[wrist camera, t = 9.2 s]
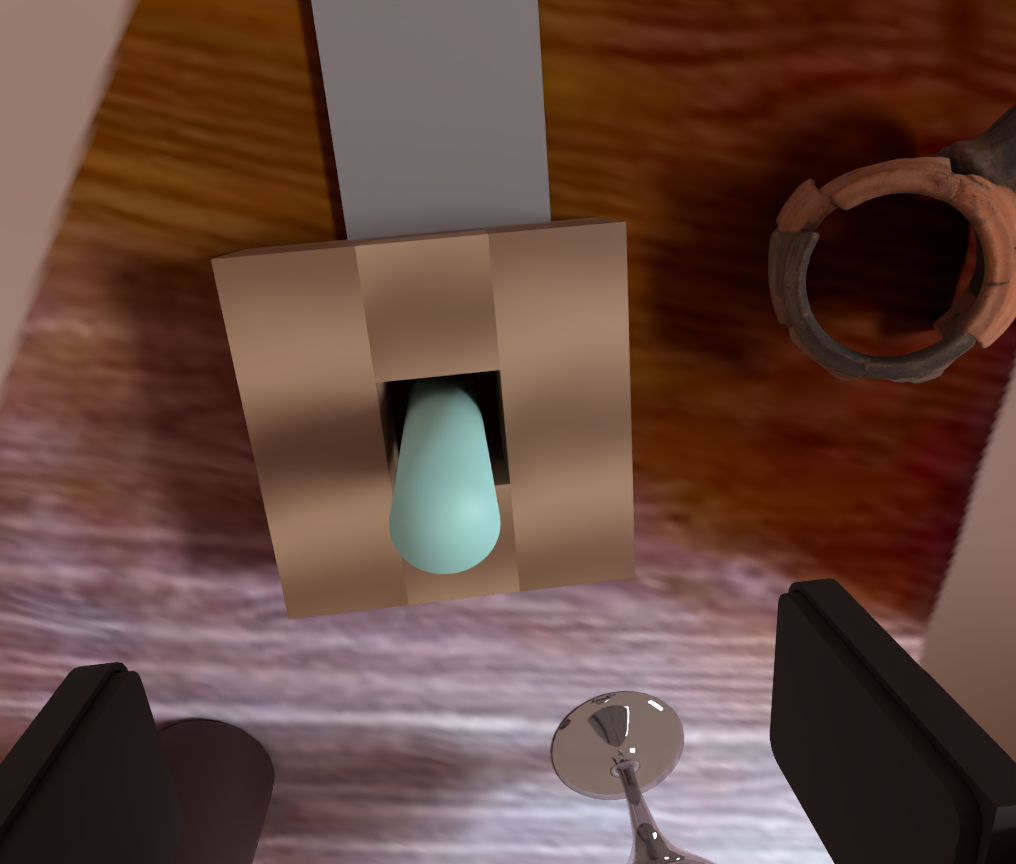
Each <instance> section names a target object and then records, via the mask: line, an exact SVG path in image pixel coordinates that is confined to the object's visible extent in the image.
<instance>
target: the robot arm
mask: <svg viewBox="0 0 1016 864" xmlns="http://www.w3.org/2000/svg"><path fill="white" fill-rule="evenodd" d="M770 742H771V747H772V751H773V754H774V757H775V759H776V762H777V764H778V765H779V767H780V769H781V771H782V772H783V774H784V776H785V778H786V779H787V781H788V783H789V785H790V786H791V788H792V790H793V792H794V793H795V795H796V797H797V799H798V800H799V802H800V804H801V806H802V807H803V809H804V811H805V813H806V814H807V816H808V818H809V820H810V821H811V823H812V825H813V827H814V828H815V830H816V832H817V834H818V835H819V837H820V839H821V841H822V842H823V844H824V846H825V848H826V849H827V851H828V853H829V855H830V856H831V858H832V860H833V862H834V863H835V864H1016V763H1015V762H1014V761H1013V760H1012V759H1011V758H1010V757H1009V755H1008V754H1007V753H1006V752H1005V751H1003V749H1002V748H1001V747H1000V746H999V745H998V744H997V743H996V742H995V741H994V740H993V739H992V738H991V737H990V736H989V735H988V734H987V733H986V732H985V731H984V730H983V729H982V728H981V727H980V726H979V725H978V724H977V723H976V722H975V721H974V720H973V719H972V718H971V717H970V716H969V715H968V714H967V713H966V712H965V710H964V709H963V708H962V707H961V706H960V705H959V704H958V703H957V702H956V701H955V700H954V699H953V698H952V697H951V696H950V695H949V694H948V693H947V692H946V691H945V690H944V689H943V688H942V687H941V686H940V685H939V684H938V683H937V682H936V681H935V680H934V679H933V678H932V677H931V676H930V675H929V674H928V673H927V672H926V671H925V670H924V669H922V668H921V667H920V666H919V665H918V664H917V663H916V662H915V661H914V660H913V659H912V658H911V657H910V655H909V654H908V653H907V652H906V651H905V650H904V649H903V648H902V647H901V646H900V645H899V644H898V643H897V642H896V641H895V640H894V639H893V638H892V637H891V636H890V635H889V634H888V633H887V632H886V631H885V630H884V629H883V628H882V627H881V626H880V625H879V624H878V623H877V622H876V621H875V620H874V619H873V618H872V617H871V616H870V615H869V613H868V612H867V611H866V610H865V609H864V608H863V607H862V606H861V605H860V604H859V603H858V602H857V601H856V600H855V599H854V598H853V597H852V596H851V595H850V594H849V593H848V592H847V591H846V590H845V589H844V588H843V587H842V586H841V585H840V584H839V583H838V582H837V581H835V580H834V579H830V578H828V579H819V580H811V581H802V582H795V583H793V584H791V586H790V588H789V592H788V593H786V594H782V595H781V596H780V598H779V602H778V615H777V630H776V646H775V661H774V677H773V692H772V708H771V723H770ZM183 827H184V815H183V810H182V807H181V803H180V800H179V797H178V794H177V791H176V788H175V785H174V781H173V778H172V775H171V772H170V769H169V766H168V763H167V759H166V756H165V753H164V750H163V747H162V744H161V741H160V737H159V734H158V731H157V728H156V725H155V722H154V719H153V715H152V712H151V709H150V706H149V703H148V700H147V696H146V693H145V690H144V687H143V684H142V681H141V678H140V676H139V674H138V673H137V672H135V671H128V670H127V667H126V666H125V665H124V664H123V663H119V662H115V663H106V664H98V665H89V666H81V667H77V668H74V669H73V670H72V671H71V672H70V673H69V674H68V675H67V677H66V678H65V679H64V681H63V682H62V683H61V685H60V686H59V687H58V689H57V690H56V691H55V693H54V694H53V695H52V697H51V698H50V699H49V701H48V702H47V703H46V705H45V706H44V707H43V709H42V710H41V711H40V712H39V714H38V715H37V716H36V718H35V719H34V720H33V722H32V723H31V724H30V726H29V727H28V728H27V730H26V731H25V732H24V734H23V735H22V736H21V738H20V739H19V740H18V742H17V743H16V744H15V746H14V747H13V748H12V750H11V751H10V752H9V753H8V755H7V756H6V757H5V759H4V760H3V761H2V763H1V764H0V864H172V862H173V859H174V856H175V854H176V851H177V849H178V846H179V844H180V841H181V838H182V834H183Z"/></svg>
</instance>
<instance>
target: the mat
mask: <svg viewBox="0 0 1016 864" xmlns="http://www.w3.org/2000/svg"><path fill="white" fill-rule="evenodd" d="M311 3H312V9H313V16H314V22H315V29H316V36H317V42H318V49H319V55H320V62H321V68H322V75H323V81H324V88H325V95H326V101H327V108H328V114H329V121H330V127H331V134H332V140H333V147H334V153H335V160H336V167H337V173H338V180H339V186H340V193H341V199H342V206H343V212H344V219H345V225H346V232H347V239H348V240H355V239H366V238H377V237H388V236H399V235H410V234H421V233H432V232H443V231H455V230H466V229H477V228H488V227H499V226H510V225H521V224H532V223H543V222H551V216H550V200H549V183H548V166H547V149H546V132H545V116H544V99H543V82H542V65H541V48H540V32H539V15H538V0H311Z"/></svg>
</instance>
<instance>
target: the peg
mask: <svg viewBox="0 0 1016 864" xmlns="http://www.w3.org/2000/svg"><path fill="white" fill-rule="evenodd" d="M499 532H500V514H499V508H498V503H497V497H496V491H495V486H494V480H493V475H492V469H491V463H490V458H489V452H488V447H487V441H486V435H485V430H484V424H483V418H482V413H481V407H480V402H479V396H478V391H477V388H476V386H475V384H474V382H473V381H472V380H471V378H470V377H469V376H468V375H467V374H455V375H446V376H436V377H426V378H417V379H416V380H415V381H414V383H413V385H412V387H411V389H410V393H409V399H408V405H407V411H406V417H405V423H404V430H403V436H402V442H401V448H400V454H399V460H398V467H397V473H396V479H395V485H394V491H393V498H392V504H391V510H390V516H389V533H390V537H391V540H392V543H393V545H394V547H395V548H396V550H397V551H398V553H399V554H400V555H401V556H402V557H403V558H404V559H405V560H406V561H407V562H408V563H410V564H411V565H413V566H414V567H416V568H418V569H421V570H423V571H426V572H429V573H435V574H453V573H458V572H462V571H465V570H467V569H470V568H472V567H473V566H475V565H477V564H478V563H480V562H481V561H482V560H483V559H484V558H485V557H487V556H488V554H489V553H490V552H491V551H492V549H493V547H494V546H495V544H496V542H497V539H498V536H499Z"/></svg>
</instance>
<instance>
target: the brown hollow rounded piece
mask: <svg viewBox="0 0 1016 864" xmlns="http://www.w3.org/2000/svg"><path fill="white" fill-rule="evenodd" d="M896 193H913V194H920V195H926V196H930V197H933V198H935V199H937V200H940V201H944V202H947V203H949V204H950V205H952V206H953V207H955V208H956V209H957V210H958V211H960V212H961V213H962V214H963V215H964V216H965V218H966V219H967V220H968V221H969V222H970V223H971V225H972V227H973V229H974V232H975V237H976V244H977V260H976V267H975V270H974V274H973V277H972V279H971V281H970V284H969V286H968V288H967V289H966V290H965V291H964V293H963V294H962V296H961V297H960V298H959V299H958V300H957V301H956V303H955V304H954V305H953V306H952V307H951V308H950V309H949V310H948V311H947V312H946V313H945V314H943V315H942V316H941V317H940V318H939V319H937V320H936V321H935V322H934V323H933V327H934V329H935V330H936V331H937V332H938V333H939V334H940V335H942V340H941V341H939V342H937V343H935V344H933V345H931V346H930V347H927V348H925V349H922V350H919V351H916V352H913V353H910V354H905V355H899V356H892V357H873V356H870V355H865V354H861V353H858V352H855V351H852V350H850V349H848V348H846V347H844V346H842V345H840V344H839V343H837V342H836V341H835V340H833V339H832V338H831V337H830V336H829V335H828V334H827V333H826V332H824V330H823V329H822V328H821V327H820V325H819V324H818V323H817V321H816V319H815V317H814V315H813V314H812V312H811V309H810V305H809V302H808V298H807V292H806V273H807V267H808V263H809V259H810V256H811V254H812V251H813V249H814V247H815V245H816V243H817V241H818V239H819V234H818V233H816V232H813V231H814V230H815V229H816V228H817V227H818V226H819V225H820V224H821V222H822V221H823V220H824V219H825V217H827V216H828V215H829V214H830V213H831V212H833V211H834V210H836V209H837V208H838V207H840V208H841V209H843V210H848V209H851V208H852V207H854V206H857V205H858V204H860V203H862V202H864V201H867V200H870V199H872V198H876V197H879V196H883V195H888V194H896ZM776 222H777V224H778V227H777V228H776V229H774V231H773V232H772V234H771V237H770V240H769V254H768V276H769V289H770V295H771V300H772V303H773V306H774V310H775V313H776V316H777V319H778V321H779V322H780V324H781V325H787V326H788V329H789V337H790V339H791V341H792V342H793V343H794V344H795V345H796V346H797V347H798V348H799V349H800V350H801V351H802V352H803V353H804V354H806V355H807V356H808V357H809V358H810V359H812V360H813V361H815V362H816V363H818V364H819V365H820V366H821V367H823V368H824V369H825V370H826V371H828V372H829V373H830V374H831V375H832V376H834V377H836V378H838V379H840V380H842V381H846V380H854V379H858V378H861V377H868V378H872V379H887V380H891V381H894V382H908V381H910V382H912V383H921V382H924V381H927V380H930V379H934V378H936V377H938V376H940V375H941V374H942V373H943V371H944V370H945V369H946V368H947V367H948V366H949V365H950V364H951V363H952V362H953V361H954V360H955V359H956V358H958V357H959V356H961V355H962V354H963V353H965V352H966V351H967V350H969V349H970V348H971V347H972V346H973V345H974V344H975V341H977V342H978V345H979V346H980V347H981V348H987V347H988V346H989V345H990V344H992V343H993V342H994V341H995V340H996V339H997V338H998V337H999V336H1000V335H1001V334H1002V333H1003V332H1004V331H1005V330H1006V329H1007V328H1008V327H1009V325H1010V324H1011V323H1012V321H1013V320H1014V319H1015V317H1016V103H1015V104H1014V105H1013V106H1012V107H1011V108H1010V109H1009V110H1007V111H1006V112H1005V113H1004V114H1003V115H1002V116H1001V117H1000V118H999V119H998V120H997V121H996V122H995V123H994V124H992V125H991V126H990V127H989V128H988V129H987V130H986V131H985V132H983V133H982V134H981V135H979V136H978V137H976V138H975V139H974V140H967V141H957V142H954V143H953V144H951V146H950V147H944V148H943V149H942V150H941V151H940V152H938V153H937V154H936V155H934V157H918V158H904V159H895V160H890V161H886V162H882V163H878V164H874V165H871V166H866V167H862V168H858V169H855V170H853V171H850V172H848V173H846V174H843V175H841V176H840V177H838V178H836V179H834V180H832V181H831V182H829V183H827V184H826V185H824V186H823V187H822V188H821V189H820V190H819V189H817V188H816V187H815V181H814V180H813V179H808V180H806V181H805V182H803V183H802V184H801V185H800V186H799V187H798V188H797V189H796V190H795V191H794V192H793V194H792V195H791V196H790V198H789V199H788V200H787V202H786V203H785V204H784V206H783V207H782V209H781V211H780V214H779V215H778V217H777V219H776Z"/></svg>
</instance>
